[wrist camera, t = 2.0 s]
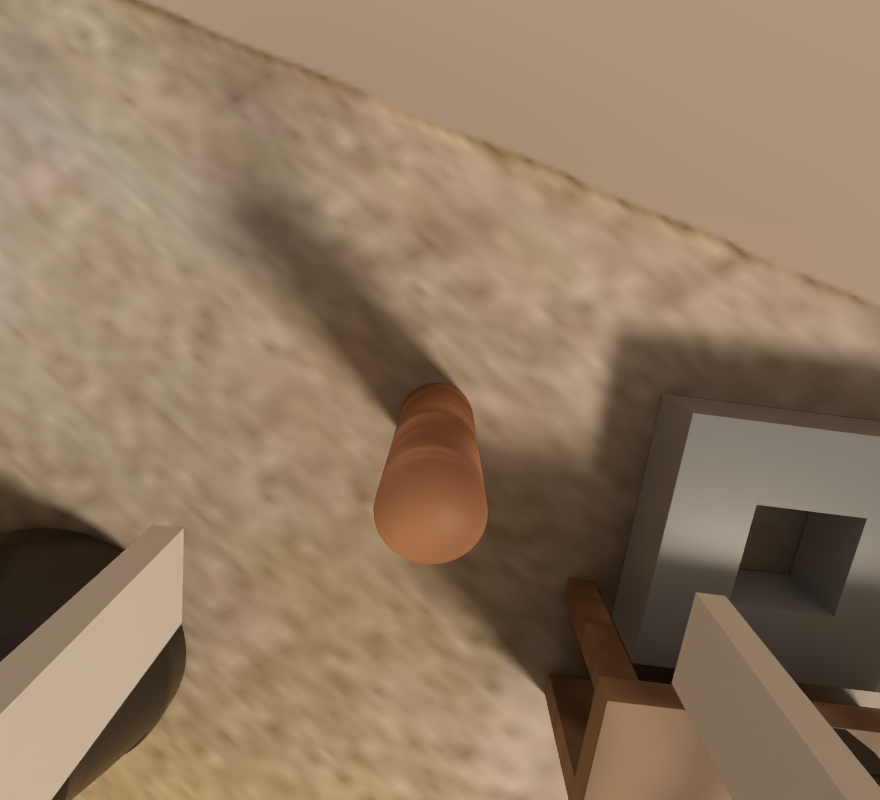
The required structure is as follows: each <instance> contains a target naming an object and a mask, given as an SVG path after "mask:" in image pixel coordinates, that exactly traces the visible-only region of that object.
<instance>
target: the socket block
mask: <svg viewBox="0 0 880 800" xmlns="http://www.w3.org/2000/svg"><path fill="white" fill-rule="evenodd" d="M757 505H763V506H771V507H779V508H787V509H795V510H803V511H809V514H808V517H807V520H806V523H805V527H804V530H803V533H802V536H801V540H800V543H799V546H798V549H797V553H796V556H795V559H794V562H793V566H792V569H791V572H790V575H785V574H777V573H769V572H760V571H752V570H744V569H739V566H740V562H741V558H742V555H743V551H744V548H745V544H746V541H747V537H748V534H749V530H750V527H751V523H752V520H753V516H754V513H755V509H756V506H757ZM696 592H698V593H706V594H714V595H722V596H726V597H727V599H728V600H729V601H730V602H731V603H732V605H733V606H734V607H735V608H736V610H737V611H738V612H739V613H740V615H741V616H742V617H743V618H744V620H745V621H746V622H747V623H748V625H749V626H750V627H751V628H752V629H753V631H754V632H755V633H756V634H757V636H758V637H759V638H760V639H761V641H762V642H763V643H764V644H765V646H766V647H767V648H768V649H769V651H770V652H771V653H772V654H773V655H774V657H775V658H776V659H777V660H778V662H779V663H780V664H781V665H782V667H783V668H784V669H785V670H786V672H787V673H788V674H789V675H790V676H791V678H792V679H793V680H794V681H795V682H796V683H805V684H813V685H822V686H830V687H838V688H847V689H855V690H864V691H872V692H880V421H873V420H865V419H857V418H849V417H842V416H834V415H826V414H818V413H810V412H802V411H795V410H787V409H779V408H771V407H763V406H755V405H748V404H740V403H732V402H724V401H716V400H708V399H701V398H693V397H685V396H677V395H669V394H662V398H661V402H660V407H659V411H658V415H657V420H656V424H655V429H654V433H653V437H652V442H651V446H650V450H649V455H648V459H647V464H646V468H645V472H644V477H643V481H642V485H641V490H640V494H639V499H638V503H637V507H636V512H635V516H634V520H633V525H632V529H631V534H630V538H629V542H628V547H627V551H626V555H625V560H624V564H623V569H622V573H621V577H620V582H619V586H618V590H617V595H616V599H615V604H614V608H613V612H612V617H611V618H612V620H613V622H614V624H615V627H616V629H617V631H618V633H619V635H620V638H621V640H622V642H623V644H624V646H625V649H626V651H627V653H628V655H629V657H630V660H631V662H632V663H635V664H644V665H652V666H661V667H669V668H676V665H677V661H678V657H679V654H680V650H681V646H682V642H683V639H684V635H685V631H686V627H687V624H688V620H689V616H690V613H691V609H692V605H693V601H694V598H695V594H696Z"/></svg>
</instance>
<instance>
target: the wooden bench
mask: <svg viewBox="0 0 880 800" xmlns="http://www.w3.org/2000/svg"><path fill="white" fill-rule="evenodd" d="M564 601H565V604H566V607H567V610H568V613H569V615H570V618H571V621H572V624H573V627H574V630H575V633H576V636H577V639H578V642H579V645H580V648H581V651H582V653H583V656H584V659H585V662H586V665H587V668H588V671H589V674H590V677H591V680H590V679H581V678H573V677H564V676H556V675H549V679H548V684H547V688H546V693H545V696H546V701H547V705H548V710H549V714H550V719H551V723H552V728H553V732H554V736H555V741H556V745H557V750H558V754H559V759H560V763H561V768H562V772H563V777H564V781H565V785H566V790H567V794H568V799H569V800H732V799H731V797H730V795H729V793H728V791H727V789H726V787H725V785H724V783H723V782H722V780H721V778H720V776H719V774H718V772H717V770H716V768H715V766H714V764H713V762H712V760H711V758H710V756H709V754H708V752H707V751H706V749H705V747H704V745H703V743H702V741H701V739H700V737H699V735H698V733H697V731H696V729H695V727H694V725H693V723H692V722H691V720H690V718H689V716H688V714H687V712H686V710H685V708H684V706H683V704H682V702H681V700H680V698H679V696H678V694H677V692H676V691H675V689H674V687H673V685H672V684H664V683H656V682H647V681H639V680H638V678H637V675H636V673H635V671H634V669H633V667H632V664H631V662H630V660H629V658H628V656H627V653H626V651H625V649H624V647H623V645H622V642H621V640H620V638H619V636H618V633H617V631H616V629H615V627H614V625H613V622H612V620H611V618H610V616H609V614H608V611H607V609H606V607H605V605H604V603H603V600H602V598H601V596H600V594H599V592H598V589H597V587H596V585H595V583H594V581H586V580H577V579H569V581H568V586H567V591H566V595H565V600H564ZM811 702H812V704H813V705H814V706H815V707H816V709H817V710H818V711H819V712H820V714H821V715H822V716H823V717H824V719H825V720H826V721H827V722H828V724H829V725H830V726H831V727H832V728H840V729H846V730H847V731H848V732H850V733H851V734H852V735H853V736H855V737H856V738H857V739H858V740H860V741H861V742H862V743H863V744H865V745H866V746H867V747H868V748H870V749H871V750H872V751H873V752H874V753H875V754H876V755H877V756H878V757H879V758H880V709H877V708H868V707H860V706H851V705H843V704H834V703H826V702H817V701H811Z"/></svg>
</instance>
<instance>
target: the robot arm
mask: <svg viewBox="0 0 880 800" xmlns="http://www.w3.org/2000/svg"><path fill="white" fill-rule="evenodd" d="M183 537H184V528H177V527H169V526H161V525H152V526H151V527H150V528H149V529H148V530H147V531H146V532H145V533H143V534H142V535H141V536H140V537H139V538H138V539H137V540H136V541H135V542H133V543H132V544H131V545H130V546H129V547H128V548H127V549H126V550H124V551H123V552H121V551H120V550H118V549H116V548H115V547H113V546H111V545H109V544H107V543H104V542H102V541H100V540H98V539H95V538H92V537H89V536H86V535H83V534H79V533H75V532H71V531H65V530H59V529H40V528H39V529H25V530H19V531H13V532H9V533H6V534H2V535H0V800H72V799H73V798H74V797H76V796H77V795H78V794H79V793H80V792H81V791H83V790H84V789H85V788H86V787H87V786H89V785H90V784H91V783H92V782H93V781H95V780H96V779H97V778H98V777H99V776H100V775H102V774H103V773H104V772H105V771H106V770H107V769H108V768H110V767H111V766H112V765H113V764H114V763H115V762H116V761H118V760H119V759H120V758H121V757H122V756H123V755H125V754H126V753H128V752H129V751H131V750H132V749H133V748H135V747H136V746H137V745H138V744H140V743H141V742H142V741H143V740H144V739H145V738H146V737H147V736H148V734H149V733H150V732H151V731H152V730H153V728H154V727H155V726H156V724H157V723H158V722H159V720H160V719H161V717H162V715H163V714H164V712H165V711H166V709H167V707H168V706H169V704H170V703H171V701H172V699H173V698H174V696H175V694H176V692H177V690H178V688H179V686H180V683H181V681H182V678H183V674H184V669H185V662H186V645H185V637H184V632H183V628H182V625H181V623H182V589H183ZM672 685H673V687H674V689H675V691H676V692H677V694H678V696H679V698H680V700H681V702H682V704H683V706H684V708H685V710H686V712H687V714H688V716H689V718H690V720H691V722H692V723H693V725H694V727H695V729H696V731H697V733H698V735H699V737H700V739H701V741H702V743H703V745H704V747H705V749H706V751H707V752H708V754H709V756H710V758H711V760H712V762H713V764H714V766H715V768H716V770H717V772H718V774H719V776H720V778H721V780H722V782H723V783H724V785H725V787H726V789H727V791H728V793H729V795H730V797H731V799H732V800H880V758H879V757H878V756H877V755H876V754H875V753H874V752H873V751H872V750H871V749H870V748H868V747H867V746H866V745H865V744H863V743H862V742H861V741H860V740H858V739H857V738H856V737H855V736H853V735H852V734H851V733H850V732H848V731H847V730H846V729H840V728H832V727H831V726H830V725H829V724H828V722H827V721H826V720H825V719H824V717H823V716H822V715H821V714H820V712H819V711H818V710H817V709H816V707H815V706H814V705H813V704H812V702H811V701H810V700H809V699H808V698H807V696H806V695H805V694H804V693H803V691H802V690H801V689H800V688H799V686H798V685H797V684H796V683H795V681H794V680H793V679H792V678H791V676H790V675H789V674H788V673H787V672H786V670H785V669H784V668H783V667H782V665H781V664H780V663H779V662H778V660H777V659H776V658H775V657H774V655H773V654H772V653H771V652H770V651H769V649H768V648H767V647H766V646H765V644H764V643H763V642H762V641H761V639H760V638H759V637H758V636H757V634H756V633H755V632H754V631H753V629H752V628H751V627H750V626H749V625H748V623H747V622H746V621H745V620H744V618H743V617H742V616H741V615H740V613H739V612H738V611H737V610H736V608H735V607H734V606H733V605H732V603H731V602H730V601H729V600H728V599H727V597H726V596H722V595H714V594H706V593H698V592H696V594H695V598H694V601H693V605H692V609H691V613H690V616H689V620H688V624H687V627H686V631H685V635H684V639H683V642H682V646H681V650H680V654H679V657H678V661H677V665H676V669H675V672H674V676H673V680H672Z"/></svg>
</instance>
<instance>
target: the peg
mask: <svg viewBox="0 0 880 800" xmlns="http://www.w3.org/2000/svg"><path fill="white" fill-rule="evenodd" d="M487 518H488V505H487V499H486V493H485V487H484V481H483V474H482V468H481V462H480V456H479V450H478V443H477V437H476V431H475V425H474V419H473V413H472V408H471V406H470V403H469V401H468V400H467V398H466V397H465V396H464V395H463V394H462V393H461V392H460V391H459V390H457V389H456V388H454V387H452V386H449V385H446V384H440V383H434V384H427V385H424V386H422V387H420V388H418V389H416V390H415V391H414V392H412V393H411V394H410V395H409V396H408V398H407V399H406V401H405V403H404V405H403V407H402V410H401V414H400V417H399V420H398V424H397V427H396V431H395V434H394V437H393V441H392V444H391V447H390V451H389V454H388V457H387V461H386V464H385V467H384V471H383V474H382V477H381V481H380V484H379V487H378V491H377V494H376V497H375V502H374V520H375V524H376V528H377V530H378V533H379V534H380V536H381V538H382V539H383V541H384V542H385V543H386V545H387V546H388V547H389V548H390V549H391V550H393V551H394V552H395V553H397V554H398V555H400V556H401V557H403V558H405V559H408V560H410V561H413V562H416V563H422V564H441V563H446V562H449V561H453V560H455V559H457V558H459V557H461V556H463V555H464V554H466V553H467V552H468V551H470V550H471V549H472V548H473V547H474V546H475V545H476V544H477V542H478V541H479V540H480V538H481V536H482V534H483V532H484V530H485V527H486V523H487Z"/></svg>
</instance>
